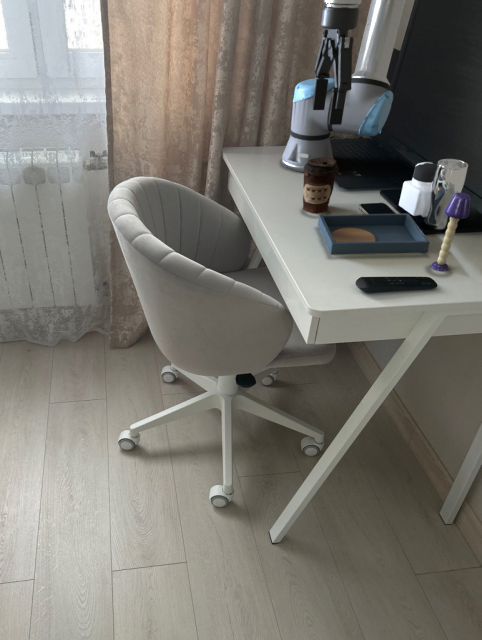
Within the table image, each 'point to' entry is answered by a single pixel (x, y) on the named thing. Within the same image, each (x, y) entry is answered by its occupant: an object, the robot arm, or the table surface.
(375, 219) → the tray
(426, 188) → the medicine bottle
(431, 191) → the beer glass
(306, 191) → the coffee cup
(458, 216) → the toy lamp
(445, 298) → the table surface
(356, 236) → the coaster
